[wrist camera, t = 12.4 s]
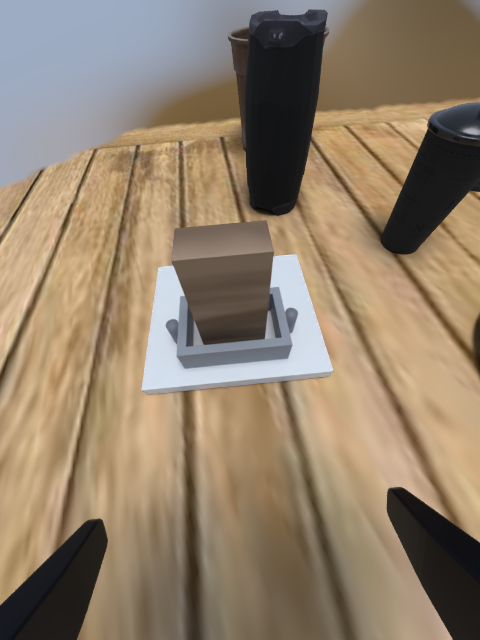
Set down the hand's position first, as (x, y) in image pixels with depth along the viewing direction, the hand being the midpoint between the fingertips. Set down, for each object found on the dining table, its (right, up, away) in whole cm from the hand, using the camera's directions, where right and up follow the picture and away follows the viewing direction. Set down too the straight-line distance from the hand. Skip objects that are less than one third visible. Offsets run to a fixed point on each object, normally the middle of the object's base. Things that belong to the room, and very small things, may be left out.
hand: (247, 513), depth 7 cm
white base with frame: (-1, +6, +20) cm, 21 cm away
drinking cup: (+22, +17, +26) cm, 38 cm away
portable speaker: (+5, +26, +33) cm, 42 cm away
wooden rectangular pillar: (-1, +5, +17) cm, 18 cm away
